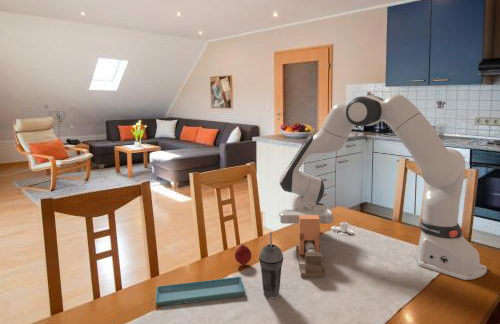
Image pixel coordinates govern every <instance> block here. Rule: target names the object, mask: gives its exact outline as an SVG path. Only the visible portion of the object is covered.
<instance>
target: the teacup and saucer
mask: <svg viewBox="0 0 500 324" xmlns="http://www.w3.org/2000/svg"><path fill="white" fill-rule="evenodd" d="M339 225H340V227H339V226H336V225H332V226H331V230H332V231H333V232H334V233H335V234H337V235H341V234H342V236H349V234H348V233H347V232H349V231H348V230H351V232H352V233H350V232H349V233H350V235H352V234H354V230H352V229H351V225H350V224H349V223H348V222H346V221H340V223H339ZM348 227H349V228H348ZM347 229H348V230H347ZM336 231H337V232H338V233H337V232H336ZM340 231H341V232H342V233H341V232H340ZM340 233H341V234H340Z"/></svg>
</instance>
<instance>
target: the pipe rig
mask: <svg viewBox="0 0 500 324" xmlns="http://www.w3.org/2000/svg"><path fill="white" fill-rule="evenodd" d="M295 250H296V256H297V262H299V263H298V267H299V274H300V273H301V274H300V278H304V277H326V278H327V272H326V268H325V266H324V263H323V260H322V258H323V257H322V256H323V255H322V252H321V251H319V252H316V251H315V248H314V244H313V240H304V255H300V254H299V245H295Z"/></svg>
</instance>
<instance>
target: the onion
mask: <svg viewBox="0 0 500 324" xmlns="http://www.w3.org/2000/svg"><path fill="white" fill-rule="evenodd" d="M234 259H235V260H236V262H237V263H238V264H240V265H241V266H244V265H246V264H248V263H249V262H251V260H252V251H251V250H250V248H249V247H248V246H247V245H245V244H244V243H243V242H242V243H240V246H238V247H237V248H236V250H235V251H234Z"/></svg>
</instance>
